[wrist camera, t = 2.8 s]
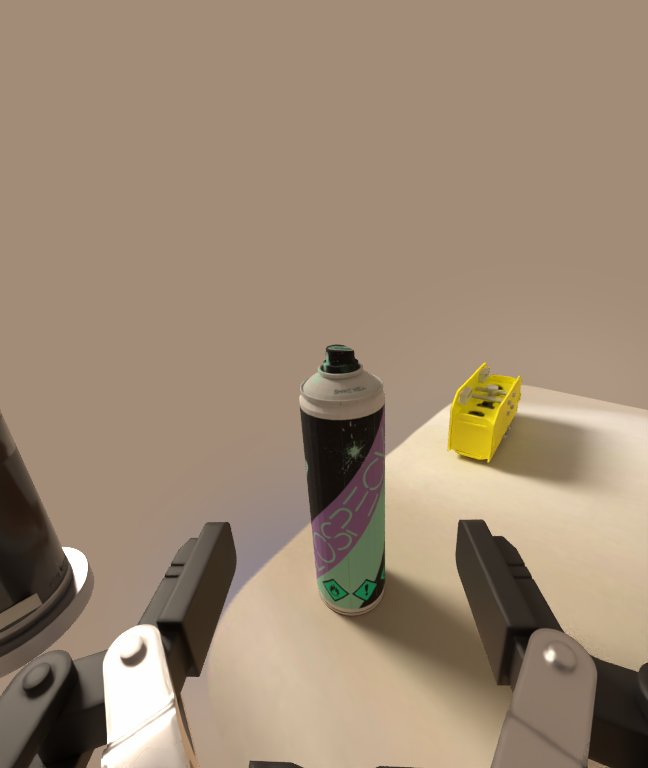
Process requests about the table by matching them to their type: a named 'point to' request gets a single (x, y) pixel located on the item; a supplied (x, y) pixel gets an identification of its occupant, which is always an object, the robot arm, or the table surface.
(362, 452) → the spray can
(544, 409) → the table surface
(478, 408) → the yellow toy chassis
